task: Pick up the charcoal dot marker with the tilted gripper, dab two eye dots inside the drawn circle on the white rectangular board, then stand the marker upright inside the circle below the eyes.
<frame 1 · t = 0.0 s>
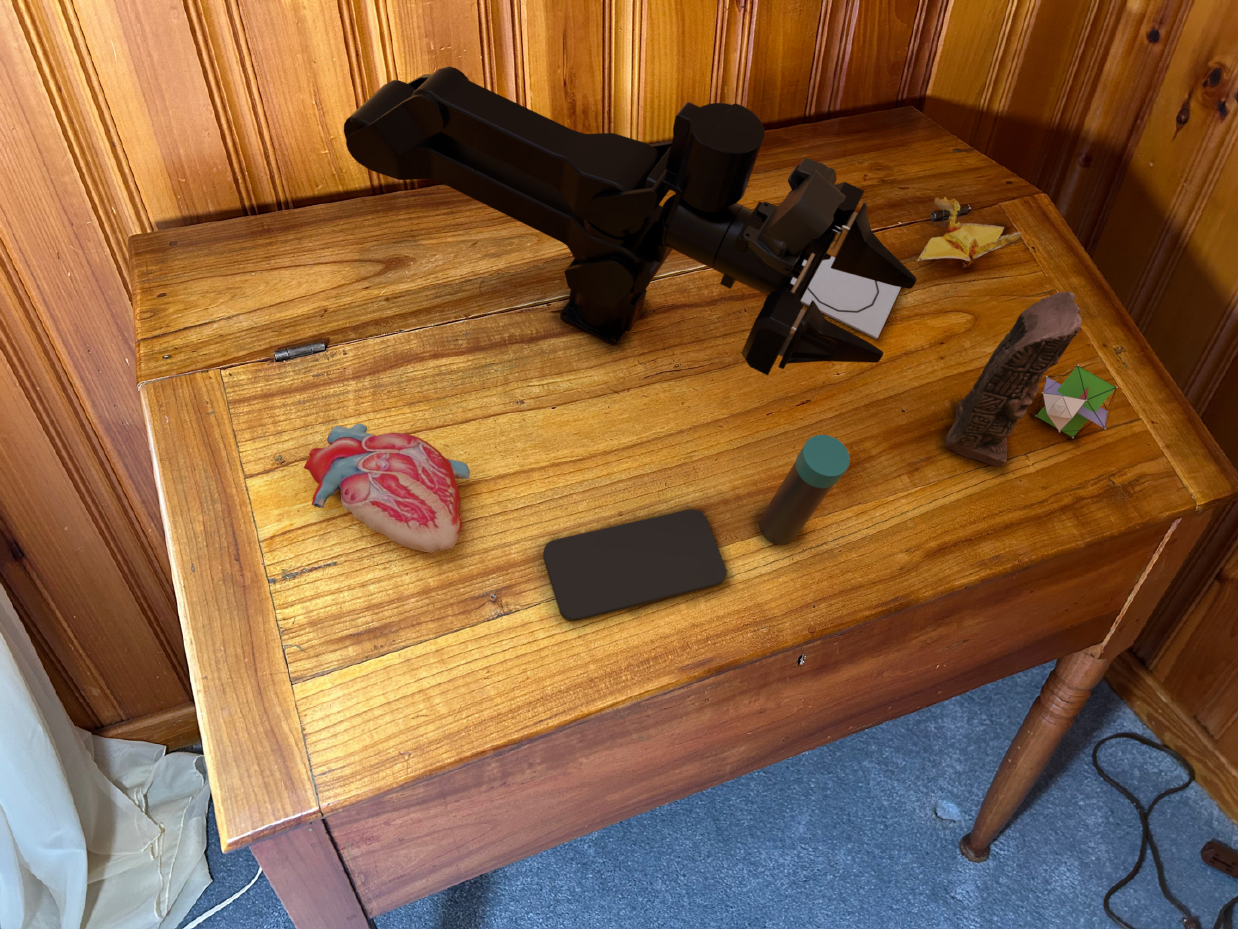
hand: (898, 319, 76), 17 cm above the table, tool horizontal, fingers open, 9 cm apart
dot marker: (778, 527, 84), on the table
phone: (634, 566, 80), on the table
statue: (966, 434, 92), on the table
geometric puzzle: (1056, 420, 95), on the table
origami crane: (954, 255, 105), on the table
white rectangular board: (840, 284, 100), on the table
anatomical model: (391, 495, 80), on the table
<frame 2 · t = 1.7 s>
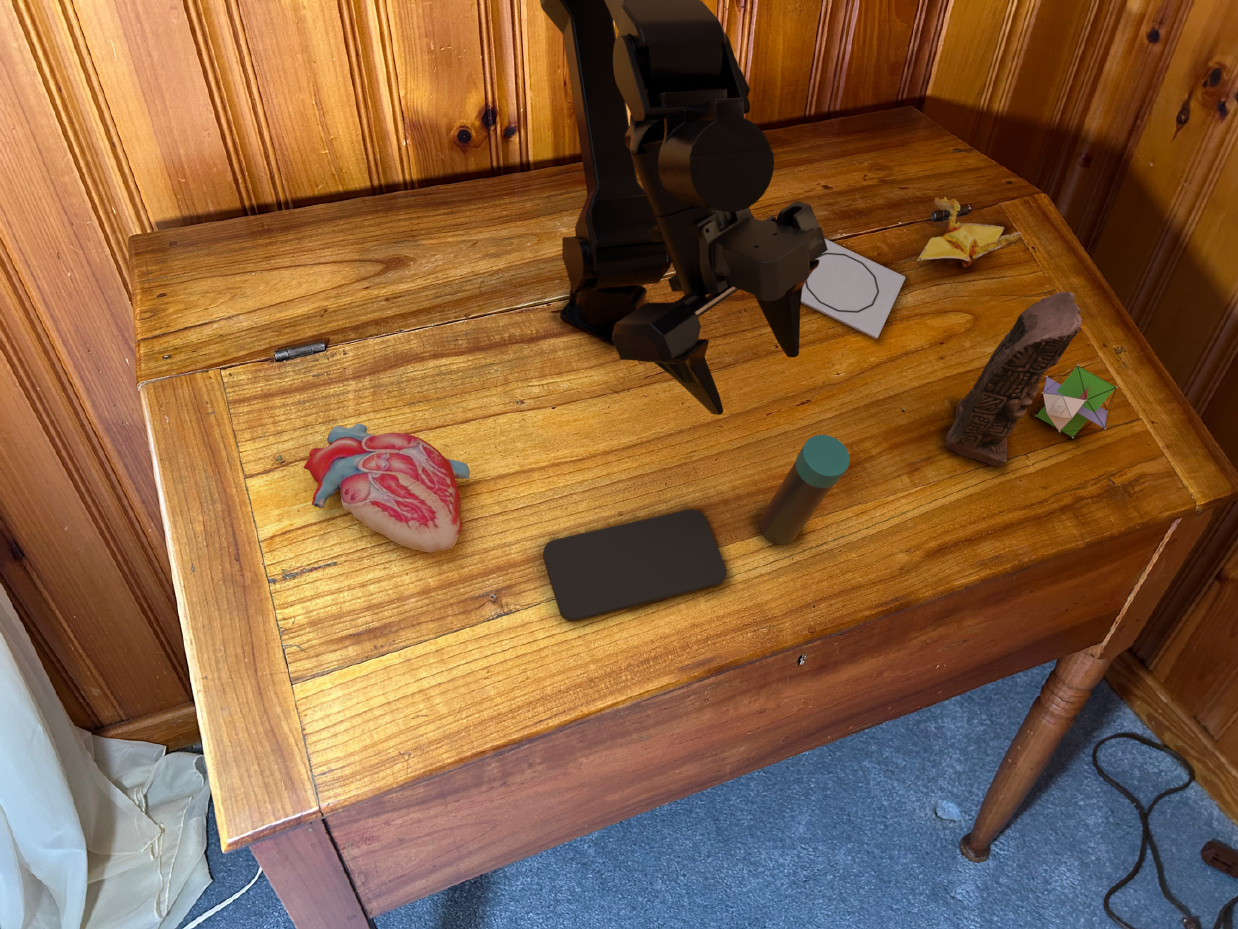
hand: (756, 384, 74), 14 cm above the table, tool tilted 45°, fingers open, 9 cm apart
nothing on the table moved.
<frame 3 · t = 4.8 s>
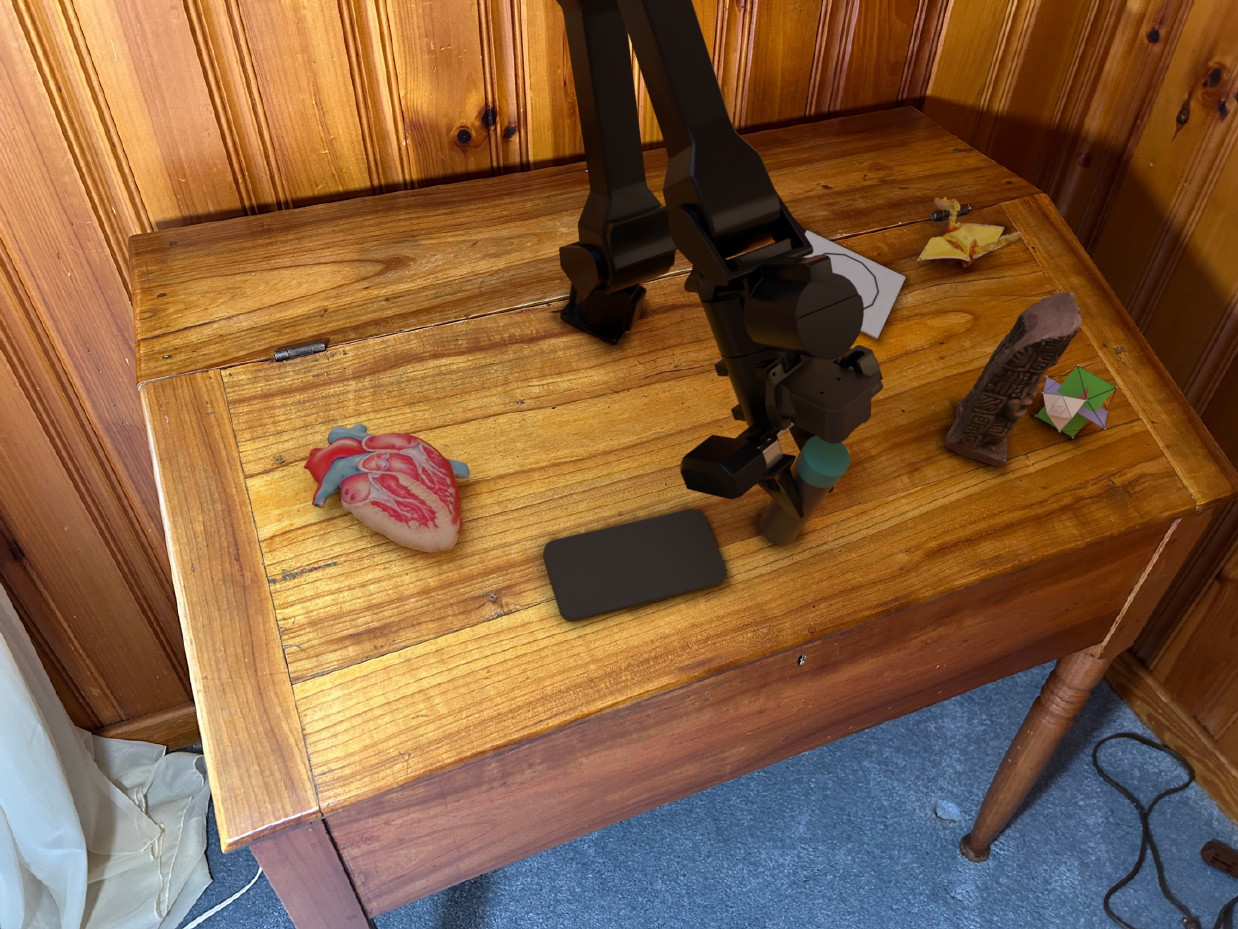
hand: (813, 504, 78), 7 cm above the table, tool tilted 45°, fingers closed on dot marker, 3 cm apart
dot marker: (778, 527, 84), on the table, touching gripper
everything else where it was.
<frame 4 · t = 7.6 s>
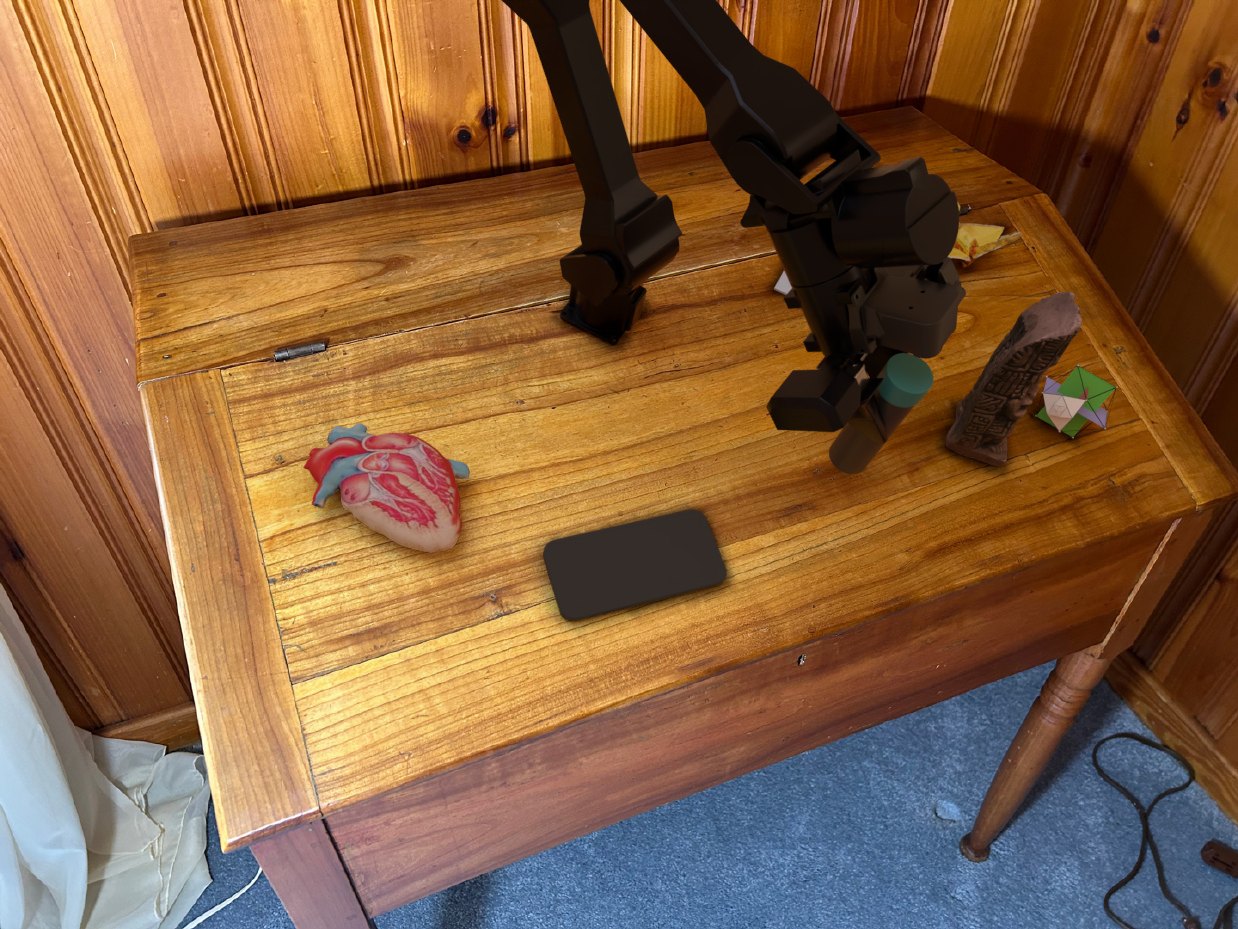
hand: (891, 426, 76), 12 cm above the table, tool tilted 45°, fingers closed on dot marker, 3 cm apart
dot marker: (847, 456, 82), point 5 cm above the table, touching gripper
everything else where it was.
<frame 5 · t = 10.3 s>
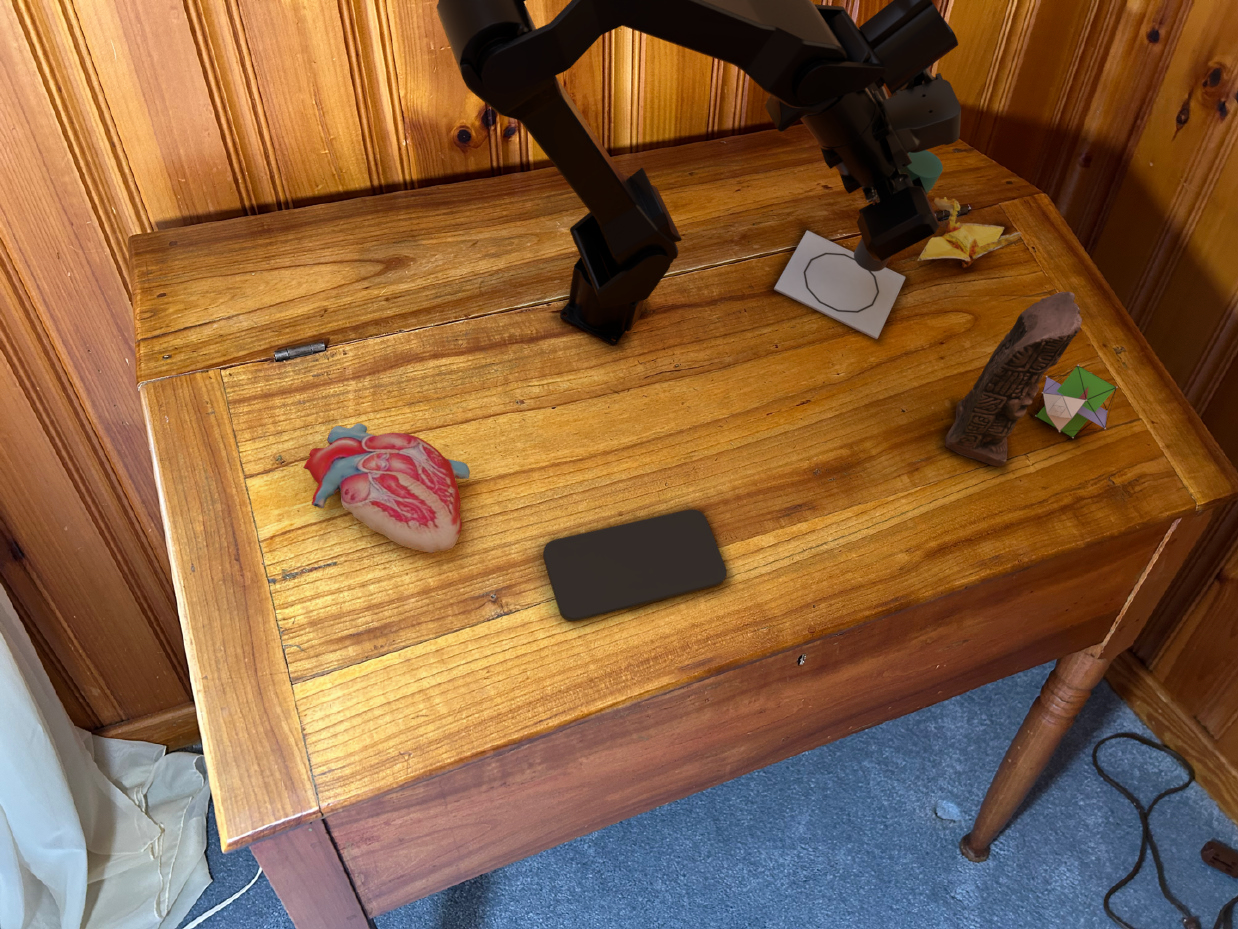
hand: (907, 213, 91), 11 cm above the table, tool tilted 45°, fingers closed on dot marker, 3 cm apart
dot marker: (869, 258, 97), point 4 cm above the table, touching gripper
everything else where it was.
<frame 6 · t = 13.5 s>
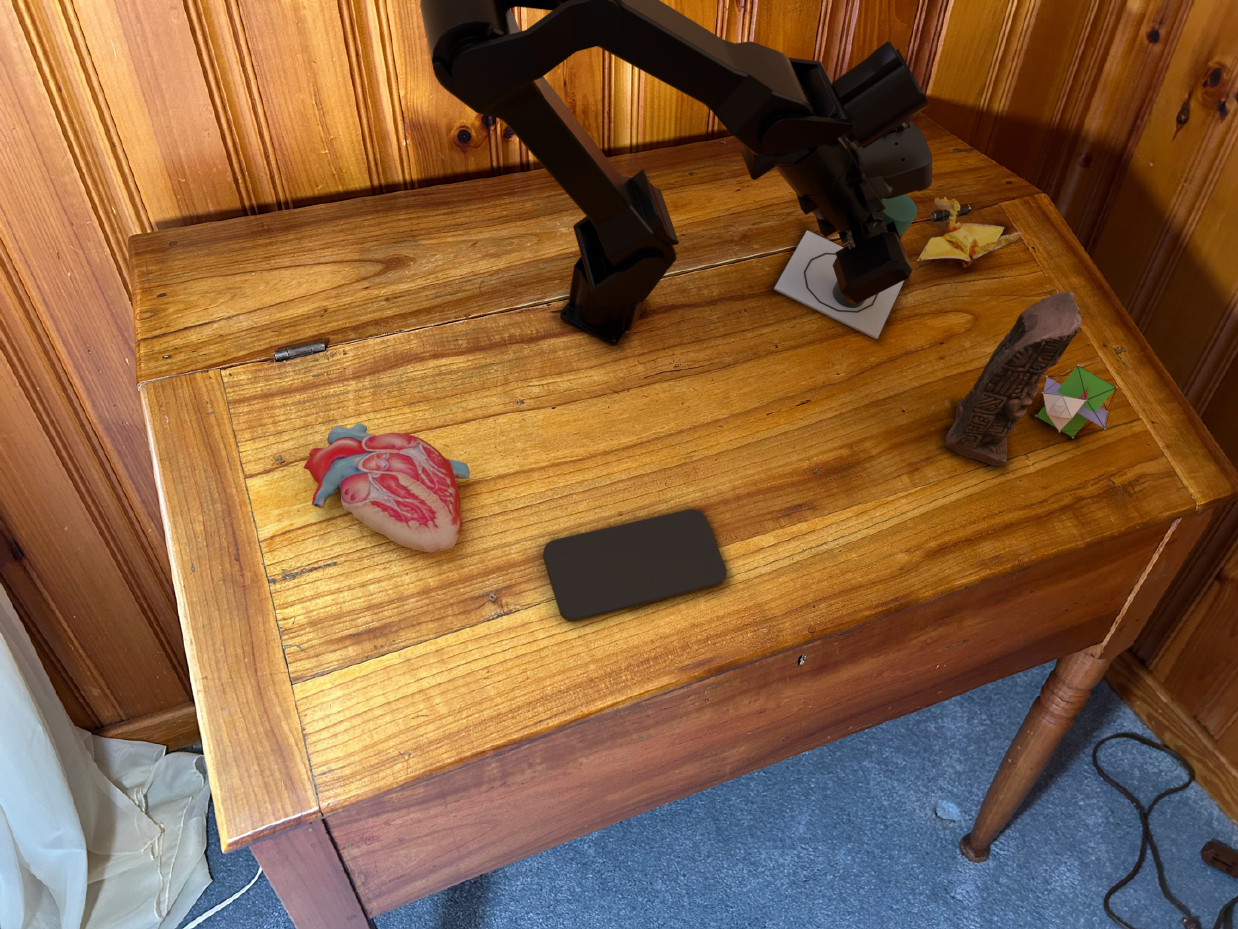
hand: (884, 252, 93), 7 cm above the table, tool tilted 45°, fingers closed on dot marker, 3 cm apart
dot marker: (848, 295, 99), resting on white rectangular board, touching gripper
everything else where it was.
when the fingers open (7 cm above the table, at t = 16.0 s): dot marker stays where it is, resting on white rectangular board.
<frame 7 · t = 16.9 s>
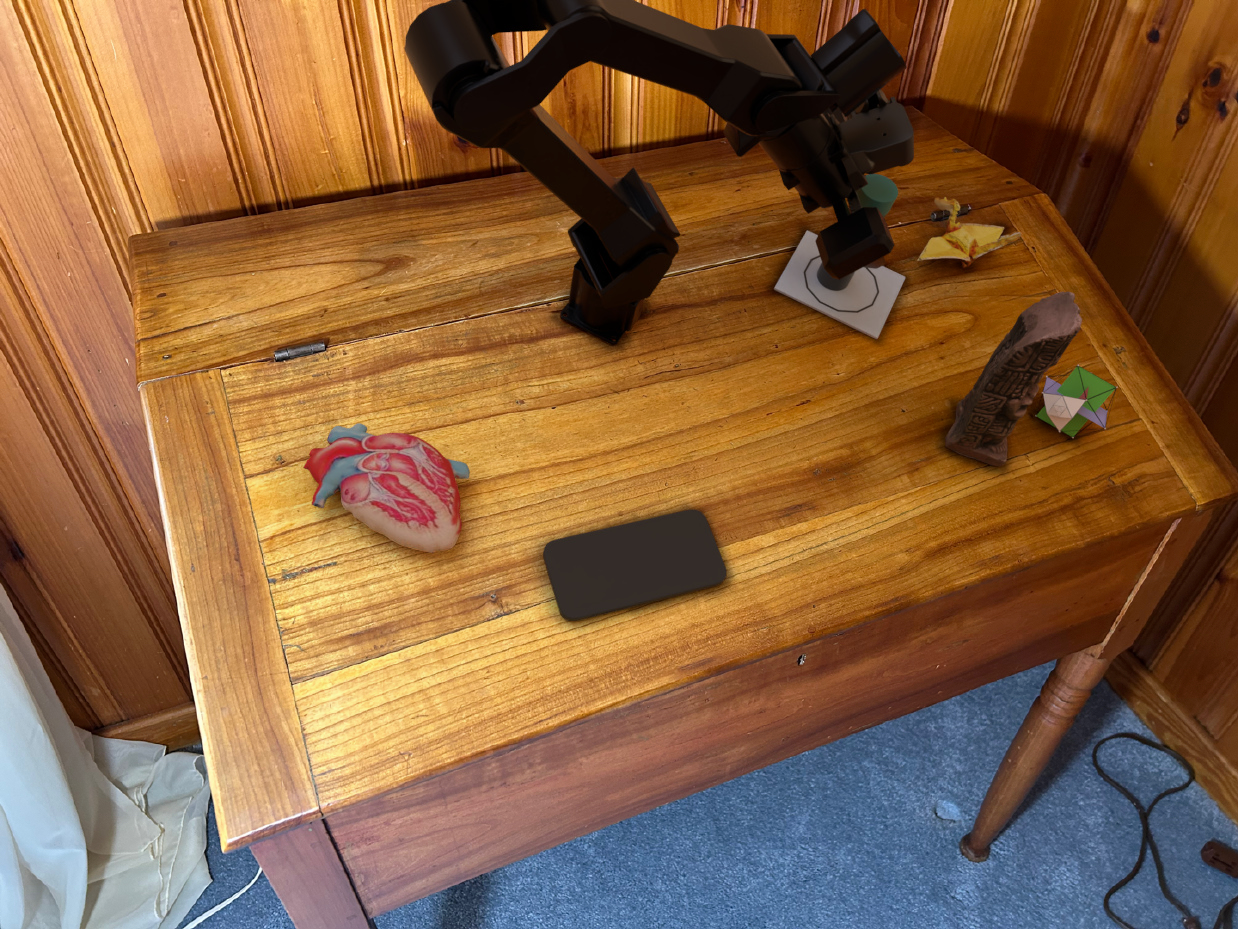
hand: (868, 230, 94), 8 cm above the table, tool tilted 45°, fingers open, 9 cm apart
dot marker: (832, 278, 100), resting on white rectangular board
everything else where it was.
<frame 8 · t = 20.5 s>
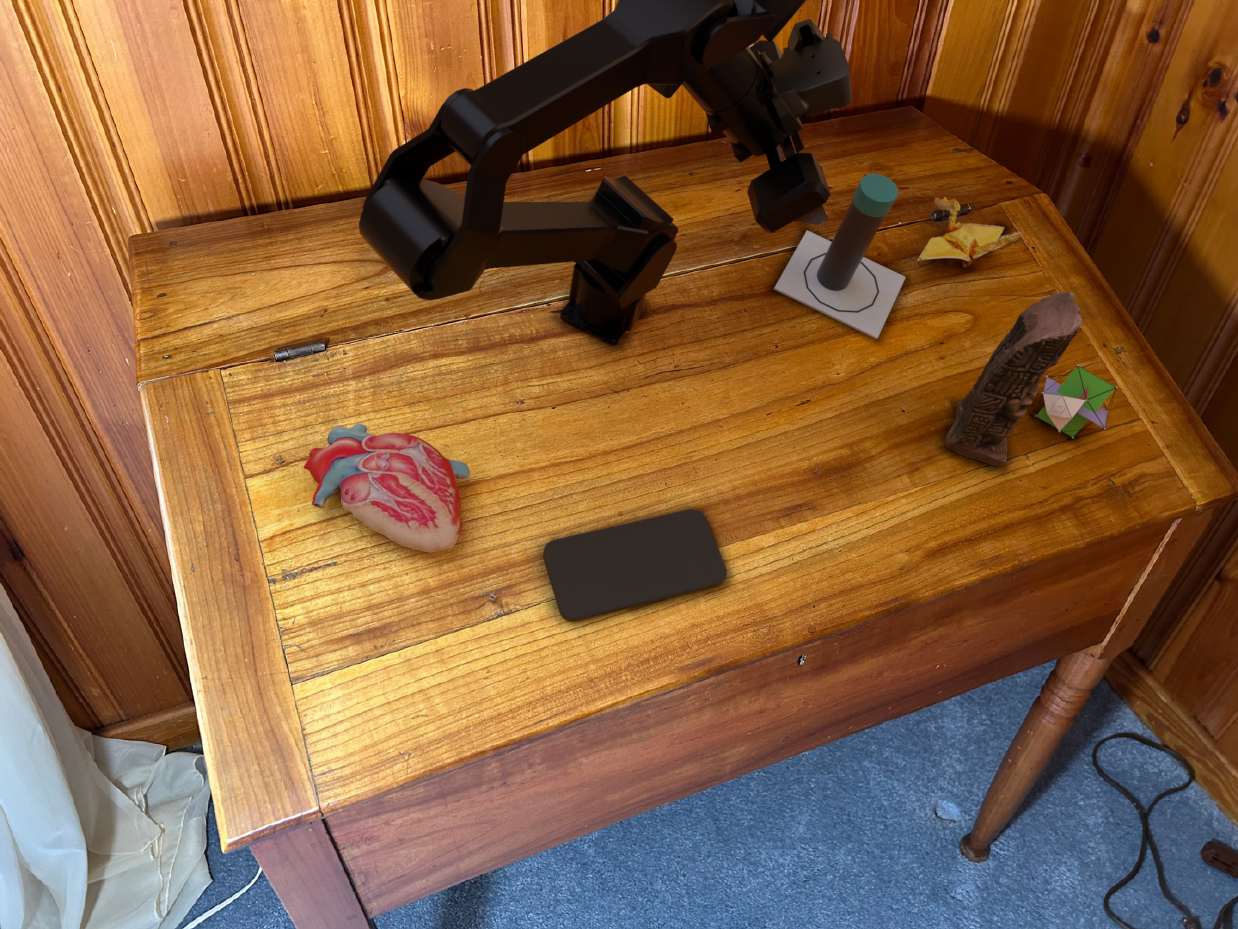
hand: (810, 184, 87), 14 cm above the table, tool tilted 45°, fingers open, 9 cm apart
nothing on the table moved.
at the end: dot marker 0.0 cm from the target spot on the white rectangular board, point 0.3 cm above the white rectangular board's base; dot marker tilted 0°; the gripper is holding nothing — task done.
